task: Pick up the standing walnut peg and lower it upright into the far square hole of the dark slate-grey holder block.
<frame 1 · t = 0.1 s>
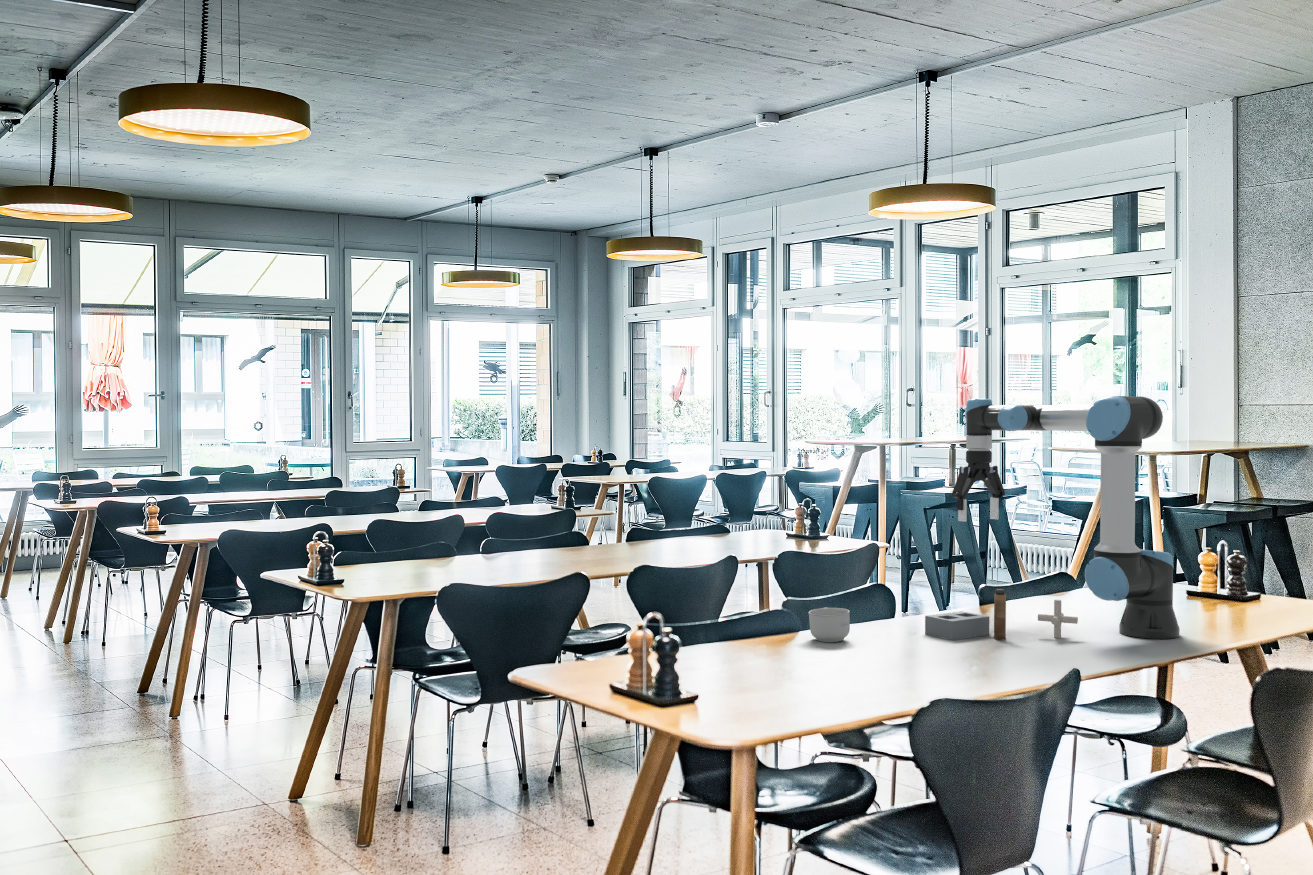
hand: (978, 520, 353), 28 cm above the table, fingers open, 13 cm apart
holder block: (957, 634, 318), on the table
pipe connector: (1057, 637, 314), on the table
peg: (999, 638, 312), on the table
teacup: (829, 639, 311), on the table
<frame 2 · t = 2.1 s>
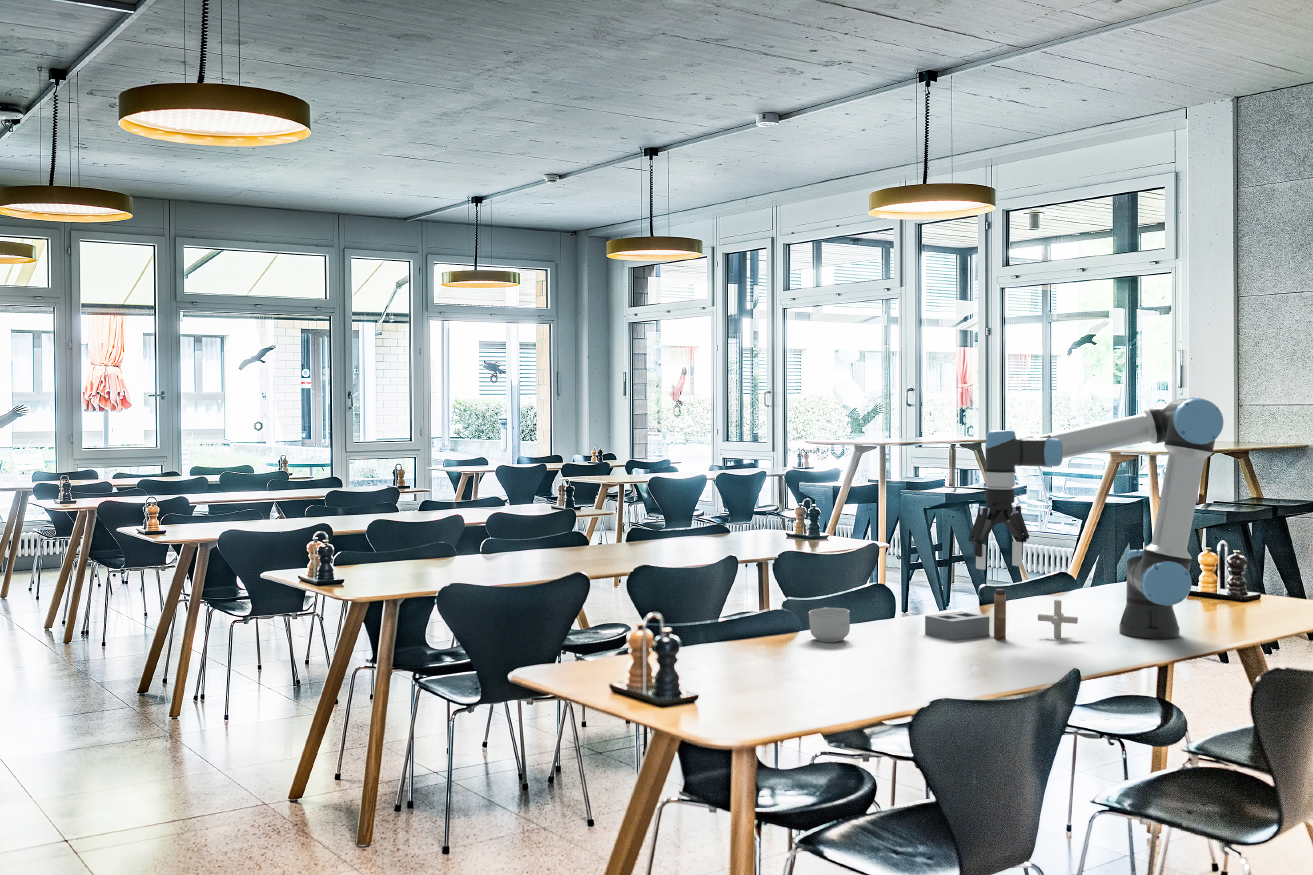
hand: (999, 567, 312), 19 cm above the table, fingers open, 13 cm apart
nothing on the table moved.
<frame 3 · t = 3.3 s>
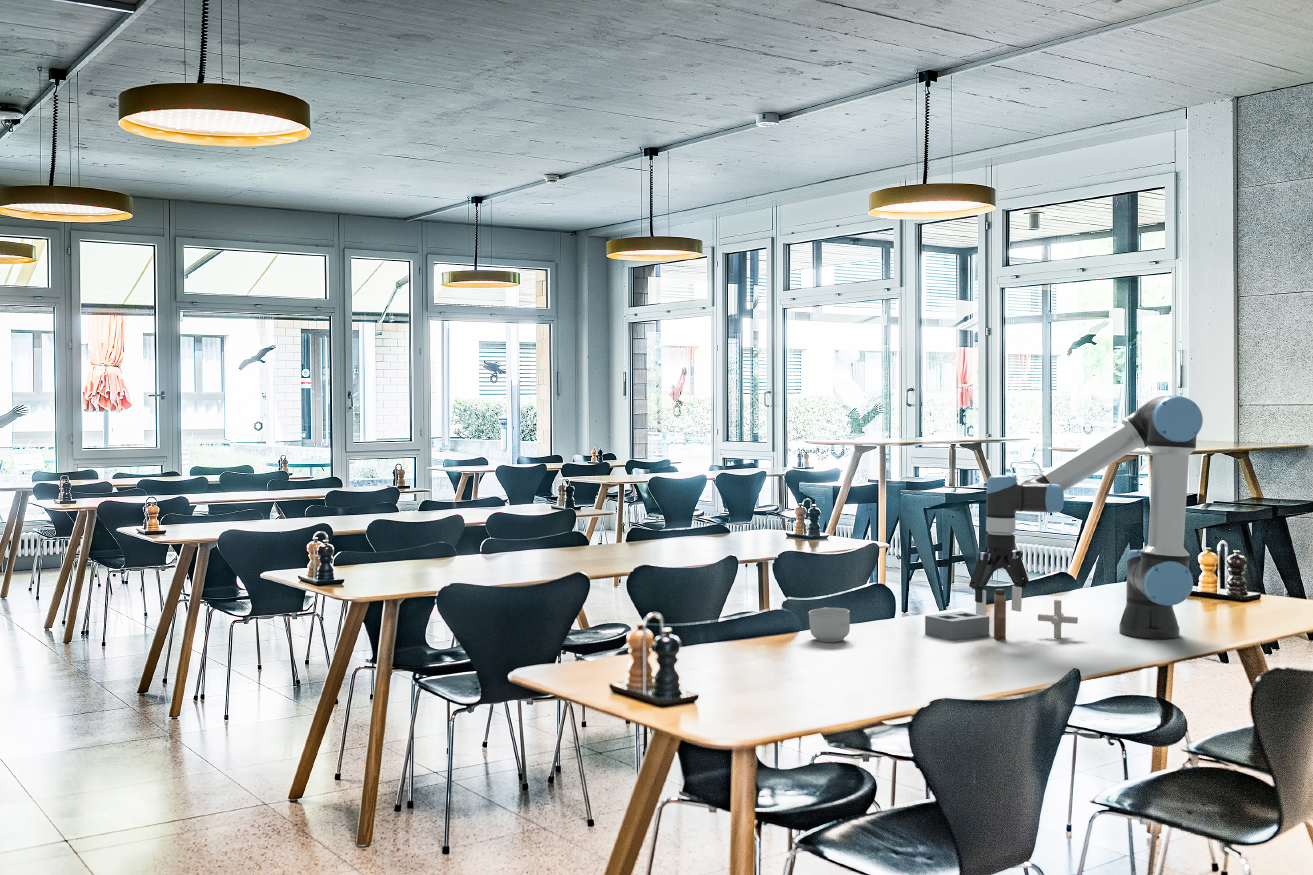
hand: (998, 612, 312), 7 cm above the table, fingers open, 13 cm apart
nothing on the table moved.
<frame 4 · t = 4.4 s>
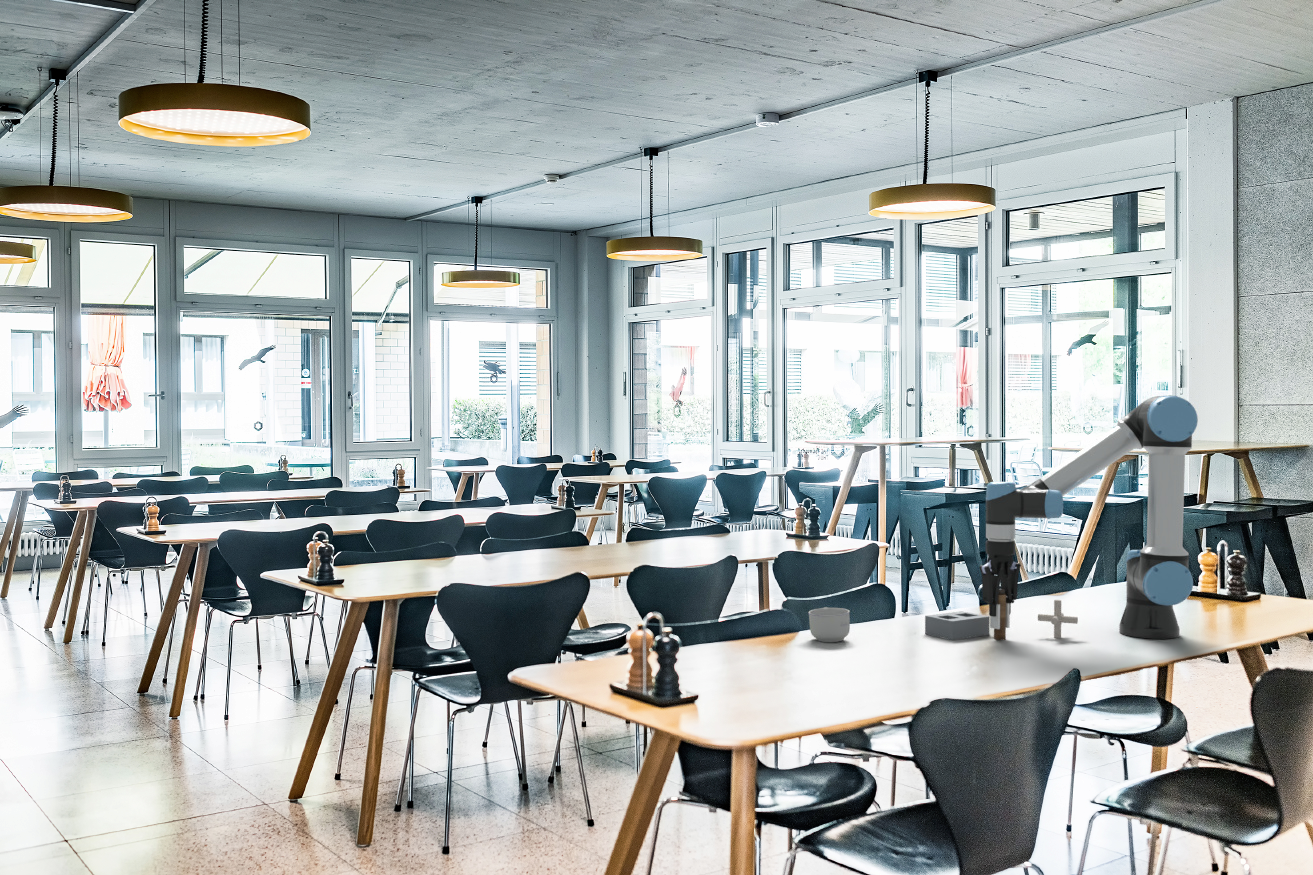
hand: (999, 627, 312), 3 cm above the table, fingers closed on peg, 3 cm apart
peg: (999, 638, 312), on the table, touching gripper
everything else where it was.
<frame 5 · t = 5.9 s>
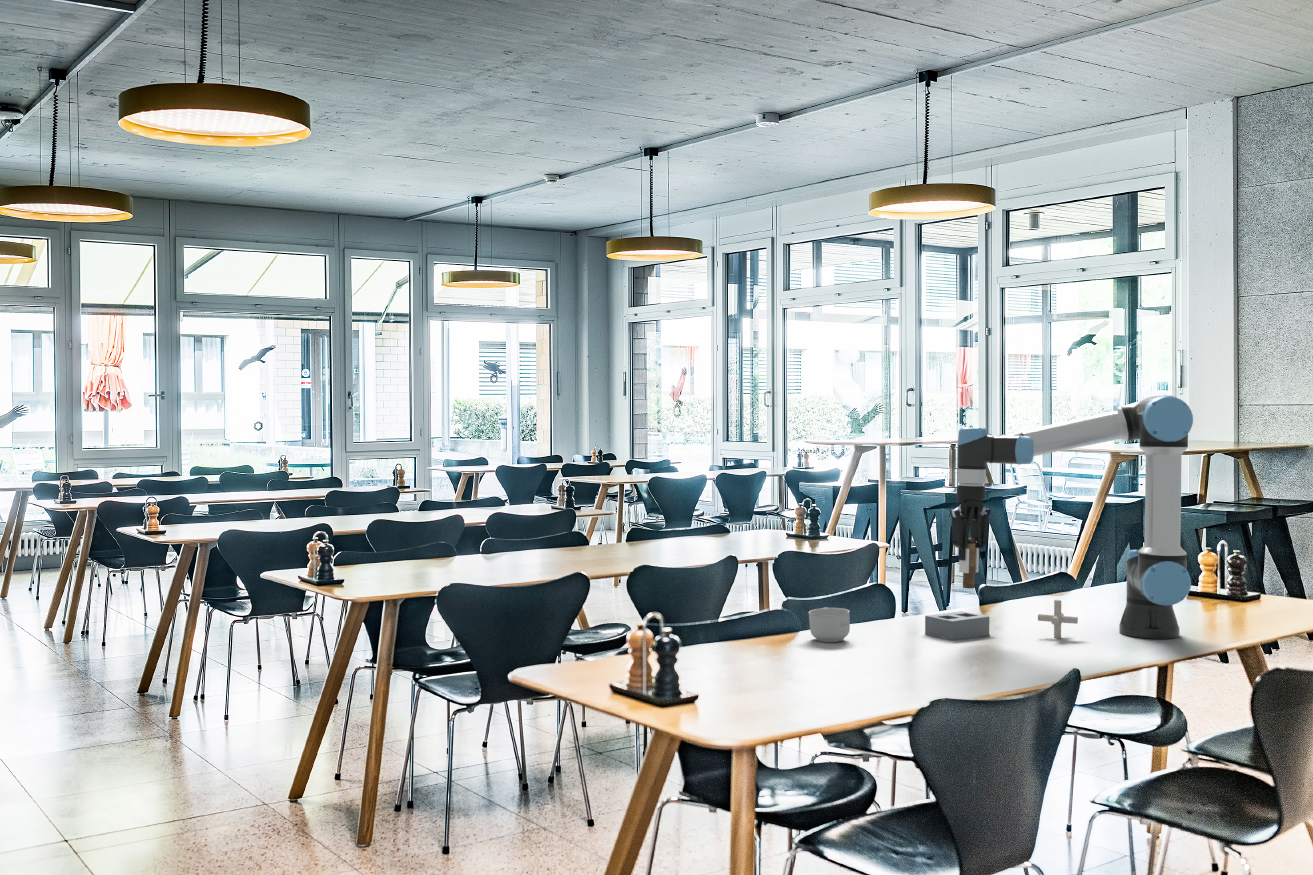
hand: (968, 571, 314), 18 cm above the table, fingers closed on peg, 3 cm apart
peg: (968, 587, 314), point 13 cm above the table, touching gripper
everything else where it was.
when the fingers open (6 cm above the table, at t = 7.7 s): peg drops 2 cm, resting in holder block.
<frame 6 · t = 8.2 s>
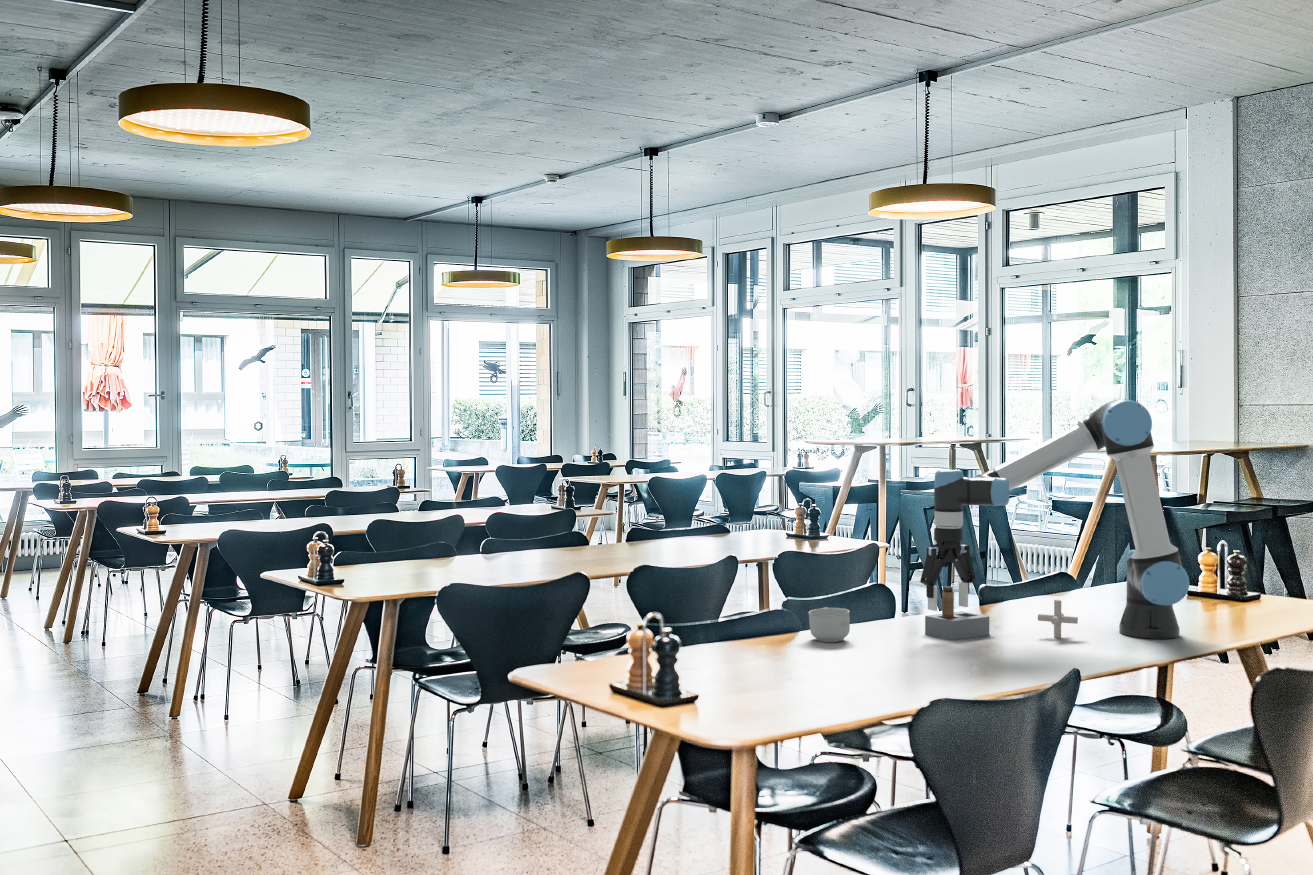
hand: (948, 608, 316), 7 cm above the table, fingers open, 11 cm apart
peg: (947, 635, 316), resting in holder block
everything else where it was.
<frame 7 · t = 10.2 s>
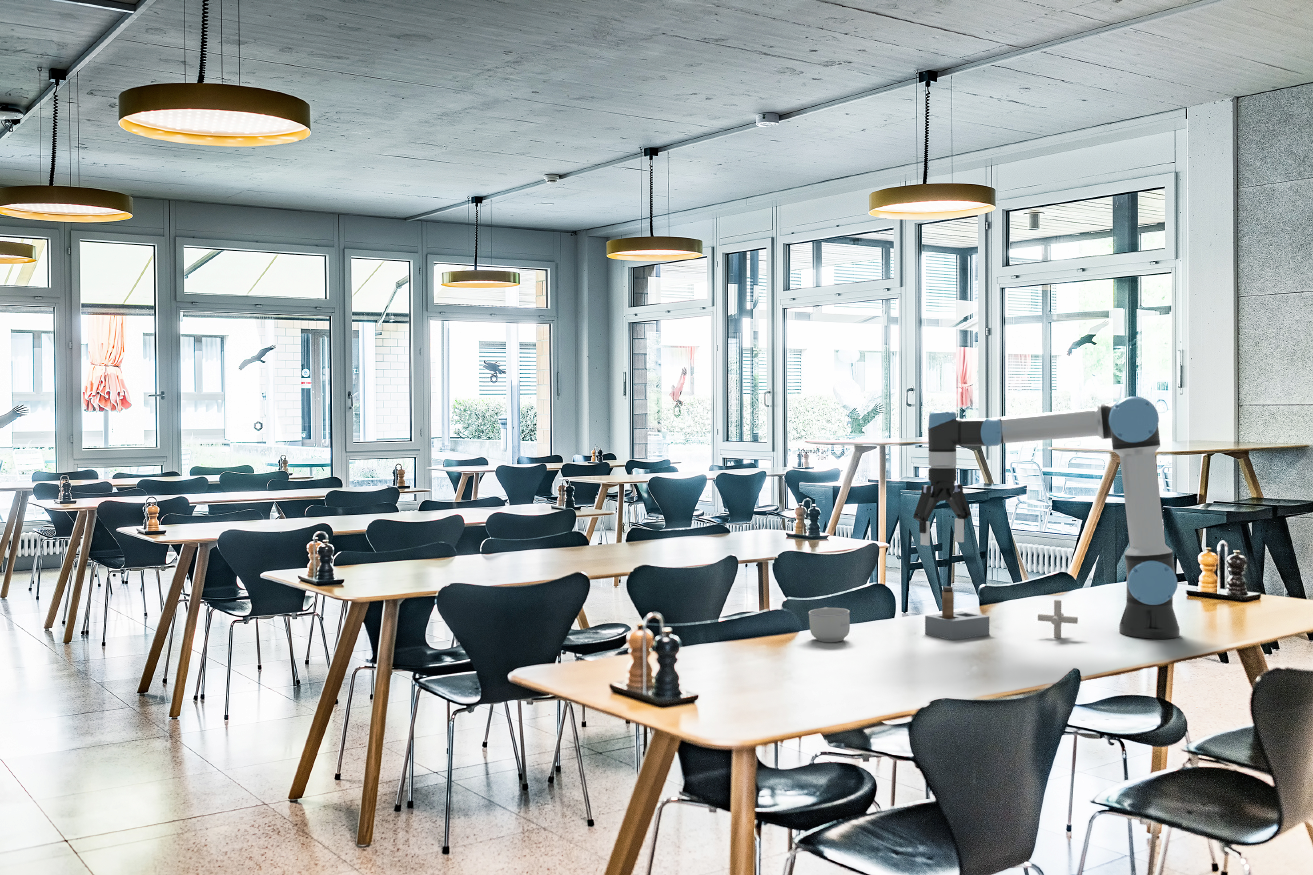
hand: (942, 543, 325), 24 cm above the table, fingers open, 13 cm apart
nothing on the table moved.
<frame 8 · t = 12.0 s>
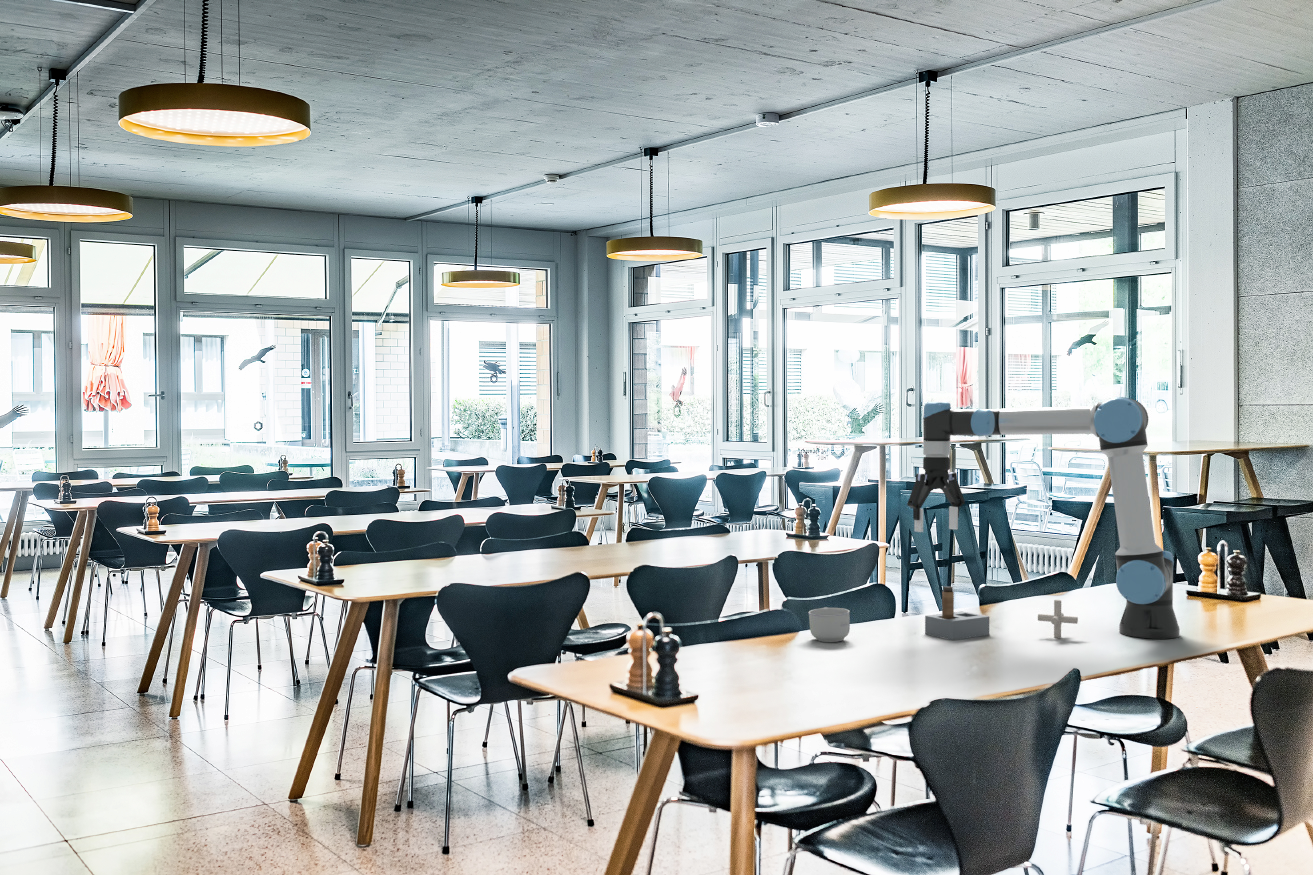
hand: (936, 530, 334), 27 cm above the table, fingers open, 13 cm apart
nothing on the table moved.
at the end: peg 0.0 cm from the target spot on the holder block, point 0.0 cm above the holder block's base; peg tilted 0°; the gripper is holding nothing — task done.
